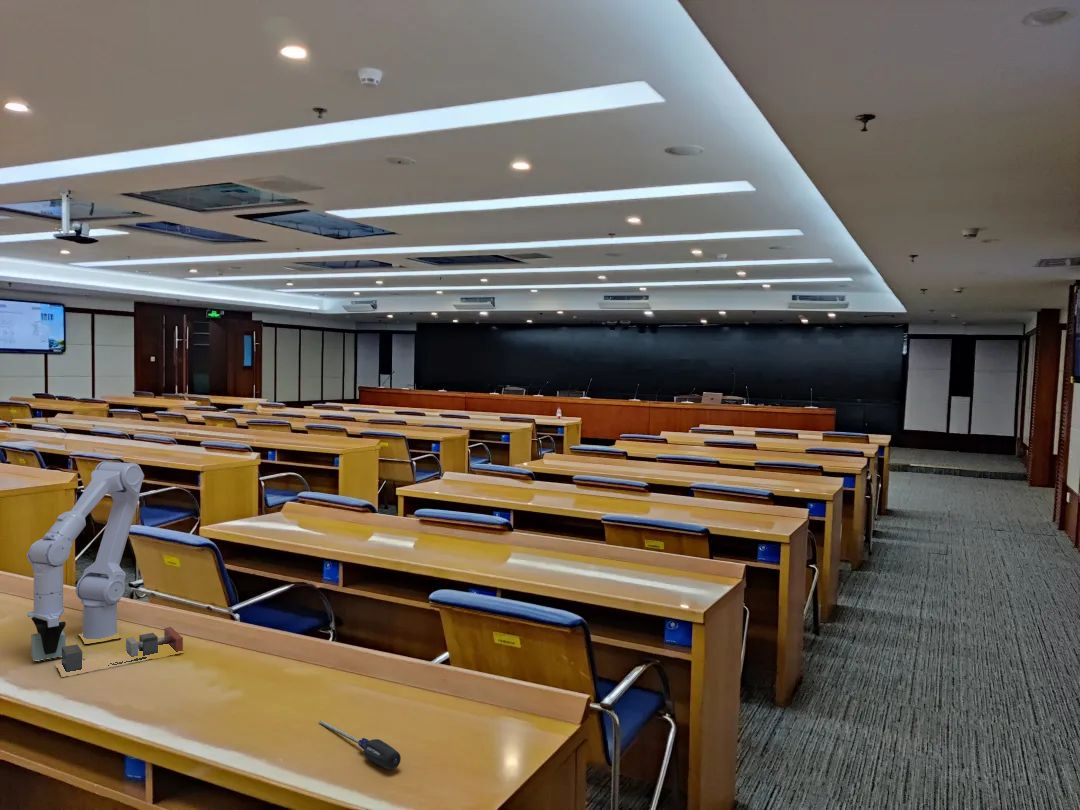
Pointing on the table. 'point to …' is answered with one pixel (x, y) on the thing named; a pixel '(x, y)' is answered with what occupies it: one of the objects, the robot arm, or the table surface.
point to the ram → (169, 638)
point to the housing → (37, 647)
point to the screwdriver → (373, 749)
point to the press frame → (74, 662)
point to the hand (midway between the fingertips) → (48, 649)
